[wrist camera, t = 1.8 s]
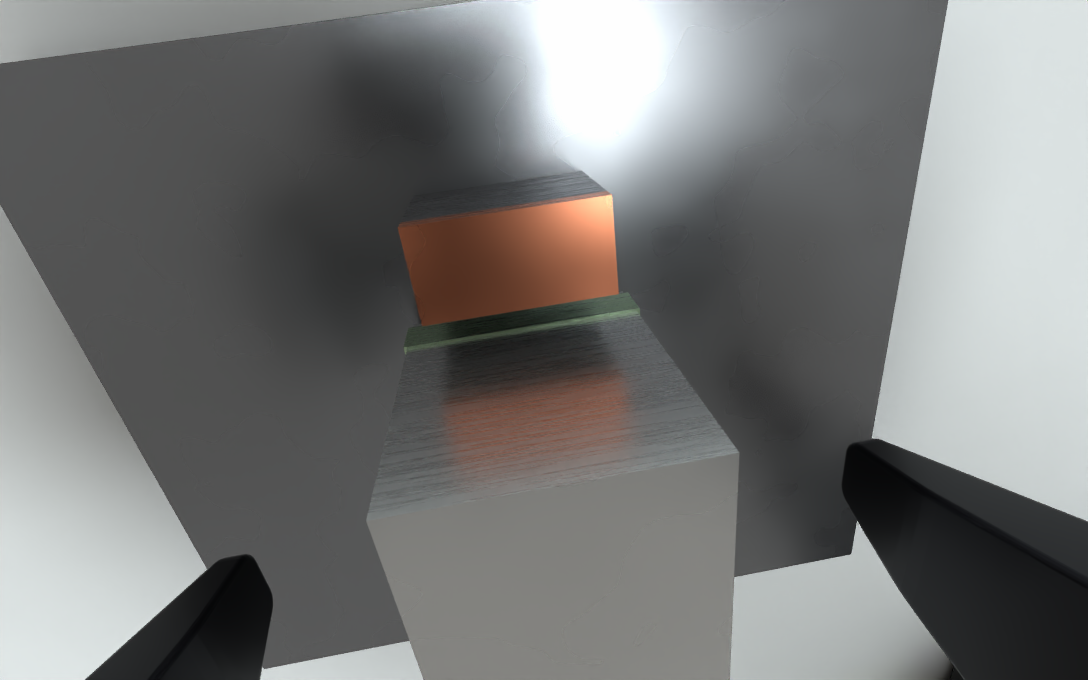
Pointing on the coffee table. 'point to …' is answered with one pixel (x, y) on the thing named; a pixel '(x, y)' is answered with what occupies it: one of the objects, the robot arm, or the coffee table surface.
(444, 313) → the stand
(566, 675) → the grey metal cube
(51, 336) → the coffee table surface
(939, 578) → the robot arm
